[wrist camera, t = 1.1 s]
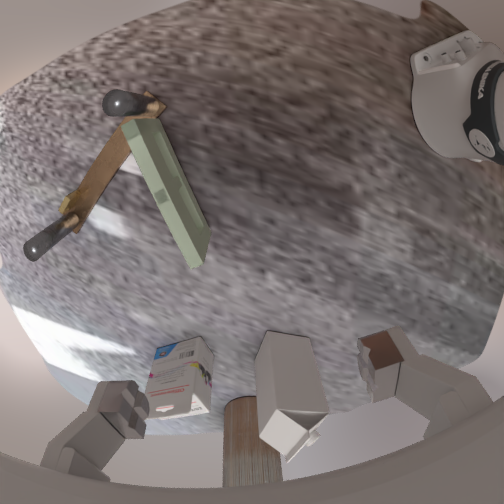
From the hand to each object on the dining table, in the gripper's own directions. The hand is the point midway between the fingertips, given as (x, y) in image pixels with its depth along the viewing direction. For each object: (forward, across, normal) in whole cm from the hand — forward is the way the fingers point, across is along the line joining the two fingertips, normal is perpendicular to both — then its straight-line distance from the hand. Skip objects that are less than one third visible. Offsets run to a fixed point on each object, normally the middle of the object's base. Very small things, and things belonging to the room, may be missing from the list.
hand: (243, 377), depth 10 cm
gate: (+27, +6, -3) cm, 28 cm away
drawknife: (+29, +15, -8) cm, 33 cm away
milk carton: (+29, 0, +26) cm, 39 cm away
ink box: (+29, +15, +23) cm, 40 cm away
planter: (+29, +9, +42) cm, 52 cm away
